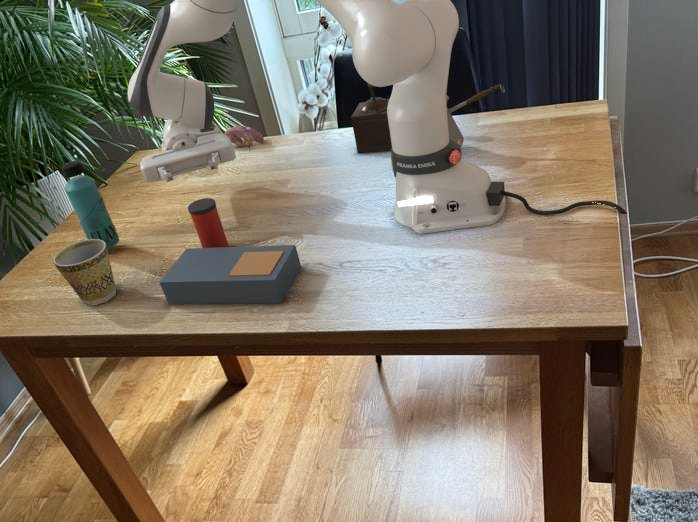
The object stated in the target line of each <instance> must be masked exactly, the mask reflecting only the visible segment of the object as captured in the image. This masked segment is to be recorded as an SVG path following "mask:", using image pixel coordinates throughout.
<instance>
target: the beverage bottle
mask: <svg viewBox="0 0 698 522" xmlns="http://www.w3.org/2000/svg"><path fill="white" fill-rule="evenodd" d="M61 171H62V174H63V177H64V178H65V179H69V180H68V181H67V182H66V184H65V186H64V191H65V193H66V195H67V197H68V199H69V201H70V204H71V205H72V208H73V210H74V212H75V214H76V216H77V219H78V221H79V225H80V226H81V229H82V231H83V233H84V234H85V235H84V236H85V237H86V240H88V239H100V240H103V241H104V242H105V243H106V246H107V250H109V249H111V248H113V247H115V246H116V245H118V243H119V242H120V236H119V233H118V231H117V229H116V226H115V224H114V222H113V219H112V218H111V214H110V213H109V211H108V209H107V207H106V202H105V201H104V198H103V197H102V194H101V192H100V190H99V189H98V186H97V183H96V181H95V179H94V178H93V177H91V176H88V175H83V174H84V173H85V169H84V166H83V165H82V163H81V161H79V160H73V161H70V162H66V163H64V164H63V165H62V166H61Z"/></svg>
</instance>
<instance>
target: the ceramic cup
mask: <svg viewBox="0 0 698 522" xmlns="http://www.w3.org/2000/svg"><path fill="white" fill-rule="evenodd" d="M52 262H53V264H54V265H55V268H56V269H57V270H58V272H59V273H60V274H61V276H62V277H63V278H64V280H65V281H66V282H67V283H68V284H69V286H70V288H72V290H73V291H74V293H75V294H76V295H77V296H78V298H79V299H80V300H81V301H82V303H83V304H86V305H90V306H97V305H100V304H104V303H107V302H108V301H110V300H111V299H112V298H113V297H115V296H116V294H117V286H116V280H115V278H114V274H113V270H112V266H111V259H110V254H109V249H107V246H106V243H105V242H104V241H103V240H100V239H81V240H79V241H77V242H74V243H71V244H69V245H67V246H65V247H63V248H62V249H60V250H59V251H58V252H57V253H56V254H55V255H54V256H53V259H52Z"/></svg>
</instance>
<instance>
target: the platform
mask: <svg viewBox="0 0 698 522" xmlns="http://www.w3.org/2000/svg"><path fill="white" fill-rule="evenodd" d="M301 269H302V265H301V261H300V257H299V253H298V249H297V245H296V244H282V245H281V244H280V245H254V246H253V245H251V246H250V245H249V246H229V247H219V248H202V247H196V248H195V247H194V248H185V249H184V251H183V252H182V253H181V255H179V257H178V258H177V259H176V260H175V261H174V263H173V264H172V266H171V267H170V268H169V269H168V271H167V272H166V273H165V274H164V275H163V277H162V278H161V279H160V281H159V285H160V287H161V290H162V292H163V294H164V298H165V300H166V302H167V304H168V305H232V304H235V305H238V304H239V305H240V304H242V305H243V304H246V305H247V304H249V305H250V304H283V302H284V300H285V298H286V296H287V295H288V293H289V291H290V289H291V287H292V286H293V284H294V282H295V280H296V278H297V276H298V274H299V273H300V271H301Z"/></svg>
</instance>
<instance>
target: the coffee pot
mask: <svg viewBox="0 0 698 522" xmlns="http://www.w3.org/2000/svg"><path fill="white" fill-rule="evenodd" d="M498 89H500V90H501V93H503V94H504V93H505V91H506V90H505V87H504V86H503V84H502V83H498V84H496V85H494V86H489V88H488V89H486V90H485V89H484V90H482V91H480V92H478V93H477V94H474V95H473V96H471V97H469V98H468V99H466V100H465V101H463V102H460V103H458V104H457V105H454V106H452V107H450V108H449V107H448V106H447V105H448V101H449V100H450V96H449V95H447V94H446V106H447V119H448V131H449V138H450V139H452V140H453V141H455V142H456V143H457V142H458V139H460V145H461V147H462V146H463V144H464V135H463V133H462V132H461V130H460V127H459V126H458V124H457V122H456V121H455V118H454V117H453V115H452V113H453V112H455V111H457V110H459V109H461V108H463V107H465V106H466V105H469V104H471V103H474V102H476V101H478V100H480V99H483V98H484V97H486V96H487V95H488V94H491V93H494V92H495V91H496V90H498Z"/></svg>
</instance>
